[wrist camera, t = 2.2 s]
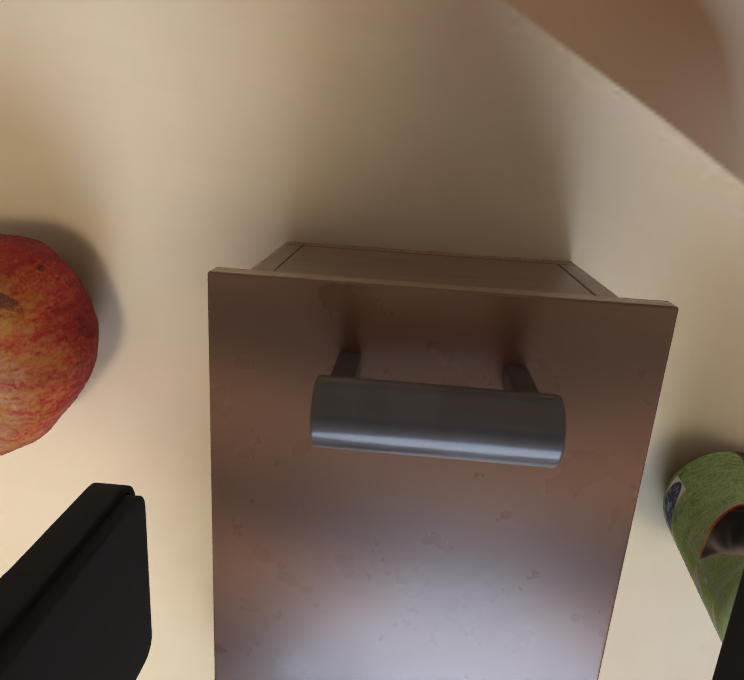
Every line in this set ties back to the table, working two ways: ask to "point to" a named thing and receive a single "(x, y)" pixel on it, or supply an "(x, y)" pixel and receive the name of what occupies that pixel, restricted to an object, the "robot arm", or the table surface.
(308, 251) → the chest
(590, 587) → the lid
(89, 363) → the fruit
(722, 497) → the beverage can
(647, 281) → the table surface
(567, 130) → the table surface
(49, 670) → the robot arm
